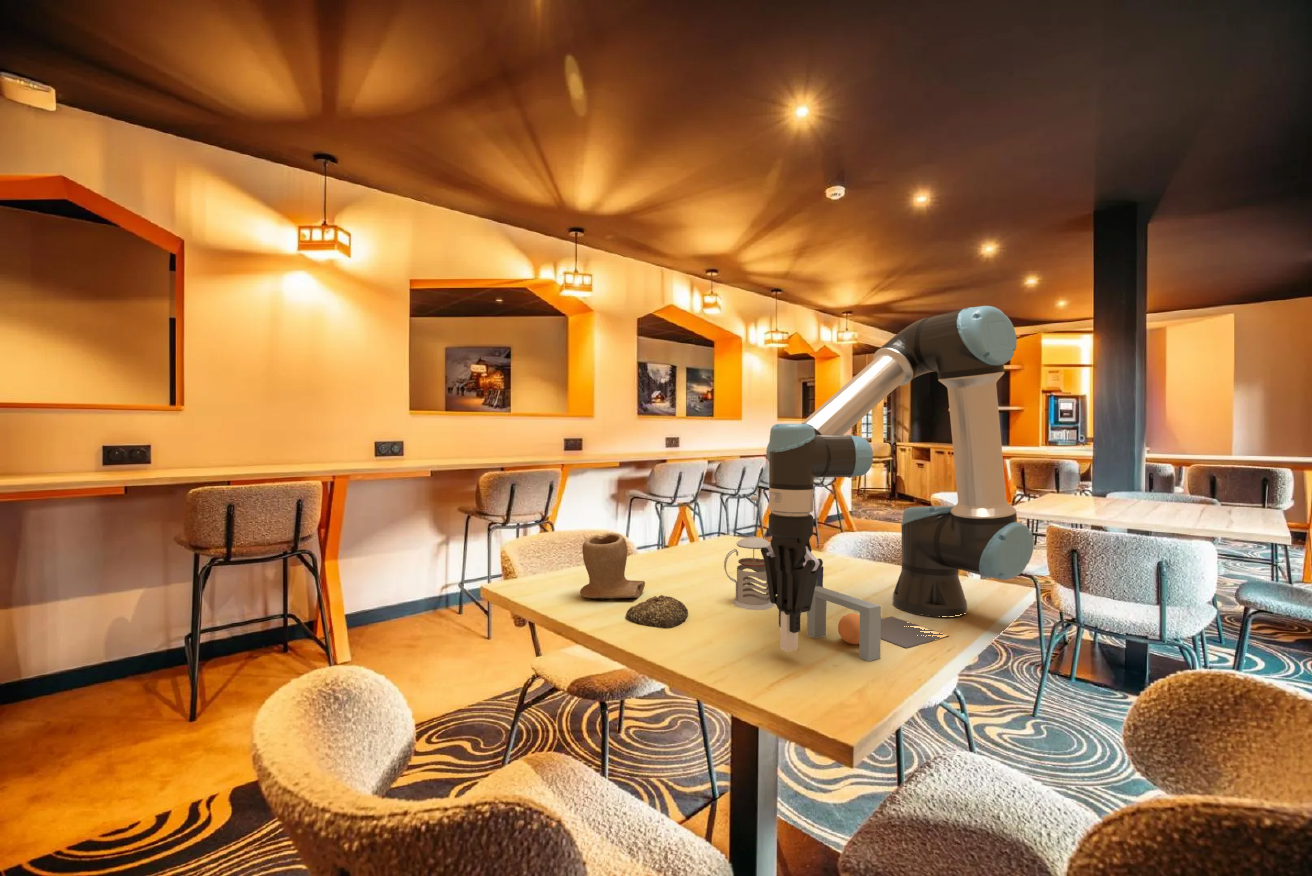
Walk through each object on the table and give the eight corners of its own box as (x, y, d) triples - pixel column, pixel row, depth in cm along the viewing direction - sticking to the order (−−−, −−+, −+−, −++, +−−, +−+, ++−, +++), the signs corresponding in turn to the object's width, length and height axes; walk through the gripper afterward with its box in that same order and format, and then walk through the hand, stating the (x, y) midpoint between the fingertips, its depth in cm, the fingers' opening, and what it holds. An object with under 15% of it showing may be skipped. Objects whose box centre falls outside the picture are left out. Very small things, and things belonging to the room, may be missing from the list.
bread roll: (667, 633, 112) (668, 608, 112) (618, 621, 118) (618, 597, 118) (699, 616, 122) (700, 593, 122) (652, 606, 129) (652, 584, 129)
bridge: (818, 632, 112) (818, 586, 112) (880, 658, 99) (881, 605, 99) (807, 635, 110) (807, 588, 110) (868, 661, 98) (869, 608, 97)
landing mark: (891, 617, 121) (891, 616, 121) (949, 636, 110) (949, 635, 110) (849, 627, 115) (849, 626, 115) (906, 648, 104) (906, 647, 104)
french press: (778, 610, 126) (780, 497, 126) (726, 609, 126) (727, 497, 126) (770, 597, 136) (771, 493, 135) (721, 596, 136) (723, 492, 135)
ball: (848, 640, 109) (854, 611, 110) (872, 649, 105) (877, 619, 105) (829, 637, 107) (834, 608, 107) (852, 647, 102) (858, 616, 103)
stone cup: (575, 604, 129) (576, 538, 128) (584, 590, 140) (584, 529, 140) (642, 606, 128) (642, 539, 128) (645, 591, 140) (645, 530, 140)
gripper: (749, 509, 102) (748, 640, 102) (802, 519, 90) (800, 666, 91) (781, 507, 105) (779, 633, 106) (835, 516, 94) (833, 657, 94)
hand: (789, 648), depth 98 cm, fingers closed
